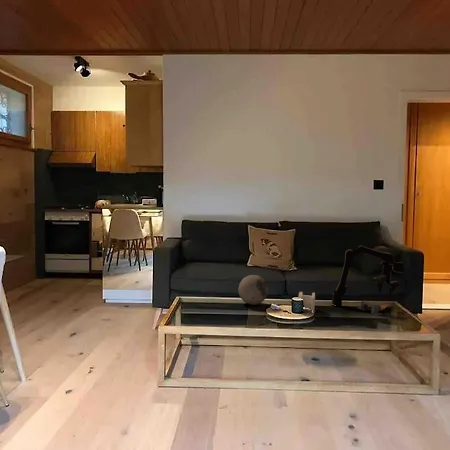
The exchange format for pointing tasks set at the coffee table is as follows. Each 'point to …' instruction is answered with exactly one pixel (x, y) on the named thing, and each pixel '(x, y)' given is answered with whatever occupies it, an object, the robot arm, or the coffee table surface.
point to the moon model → (253, 289)
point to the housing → (373, 307)
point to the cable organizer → (308, 300)
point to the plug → (381, 308)
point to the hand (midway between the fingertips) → (384, 294)
